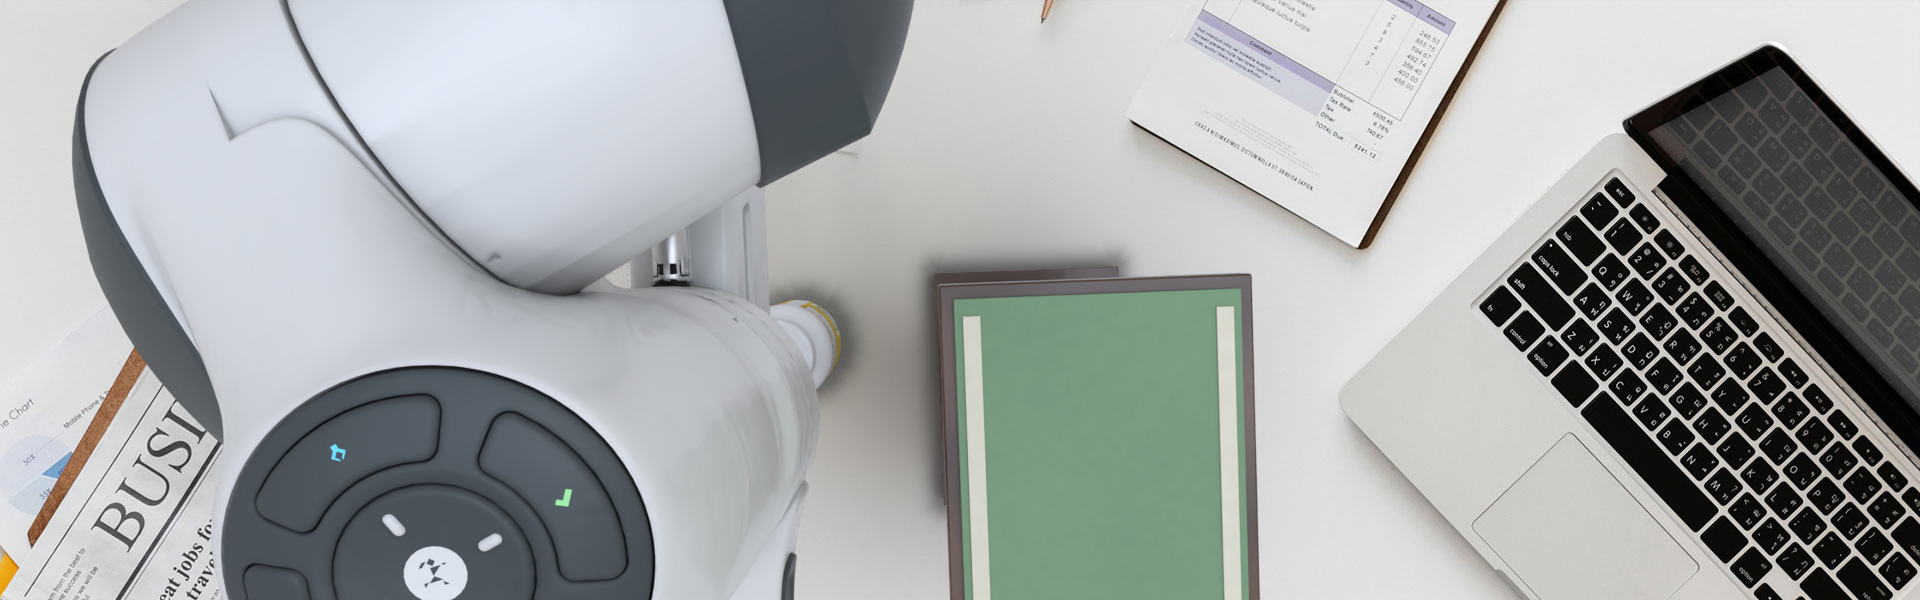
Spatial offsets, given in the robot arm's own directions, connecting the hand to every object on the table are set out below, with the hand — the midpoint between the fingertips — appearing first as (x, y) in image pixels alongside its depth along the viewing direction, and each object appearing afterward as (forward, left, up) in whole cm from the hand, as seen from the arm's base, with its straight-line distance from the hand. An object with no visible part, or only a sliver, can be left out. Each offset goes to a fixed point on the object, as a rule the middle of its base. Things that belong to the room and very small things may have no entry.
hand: (751, 378), depth 47 cm
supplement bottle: (0, 0, -18) cm, 18 cm away
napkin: (+3, +14, +10) cm, 18 cm away
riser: (+3, +14, -18) cm, 23 cm away
